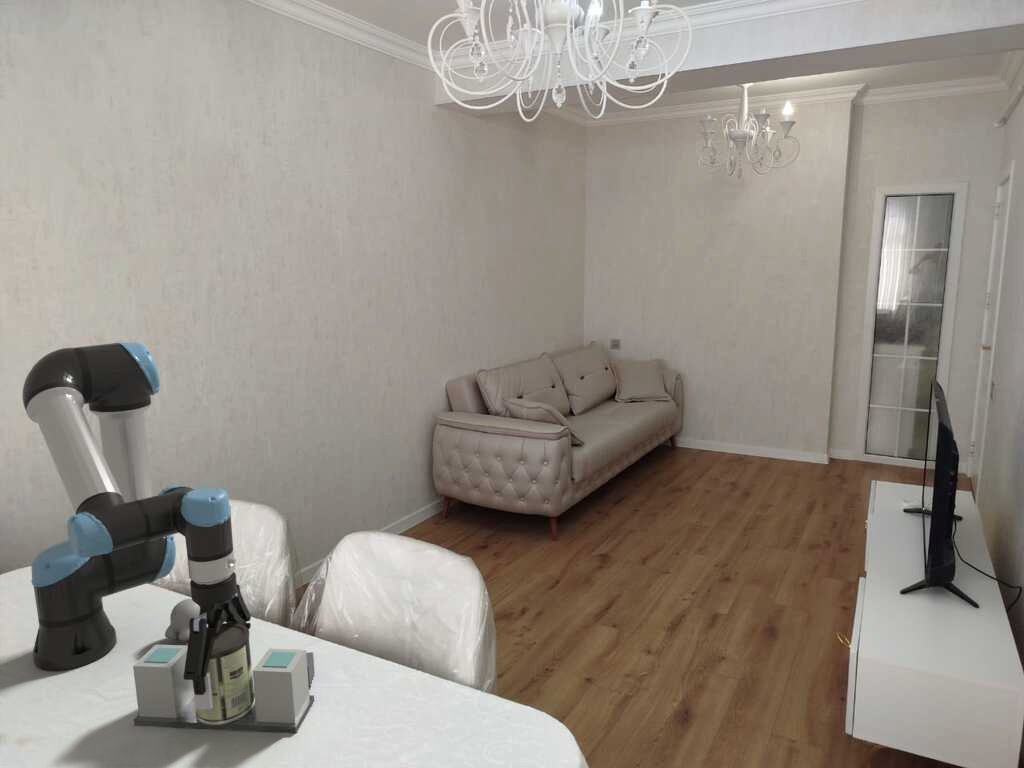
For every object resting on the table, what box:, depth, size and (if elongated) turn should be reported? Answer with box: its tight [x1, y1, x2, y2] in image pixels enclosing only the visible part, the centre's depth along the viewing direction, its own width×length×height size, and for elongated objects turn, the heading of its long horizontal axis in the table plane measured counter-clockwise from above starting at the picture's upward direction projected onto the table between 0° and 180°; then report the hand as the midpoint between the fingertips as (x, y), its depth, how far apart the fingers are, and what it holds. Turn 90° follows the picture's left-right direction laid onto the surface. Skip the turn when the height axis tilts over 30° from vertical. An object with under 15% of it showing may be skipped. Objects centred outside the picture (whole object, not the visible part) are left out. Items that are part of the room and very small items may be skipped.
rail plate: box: [132, 693, 315, 734], centre depth 131 cm, size 30×9×1 cm, turn 85°
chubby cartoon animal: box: [164, 598, 200, 642], centre depth 158 cm, size 7×12×8 cm, turn 158°
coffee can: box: [193, 622, 255, 725], centre depth 129 cm, size 10×10×14 cm
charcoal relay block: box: [306, 651, 315, 690], centre depth 140 cm, size 5×5×5 cm
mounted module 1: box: [132, 644, 194, 718], centre depth 131 cm, size 7×7×10 cm
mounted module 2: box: [252, 648, 310, 723], centre depth 129 cm, size 7×7×10 cm
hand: (223, 684), depth 130 cm, fingers open, 13 cm apart
